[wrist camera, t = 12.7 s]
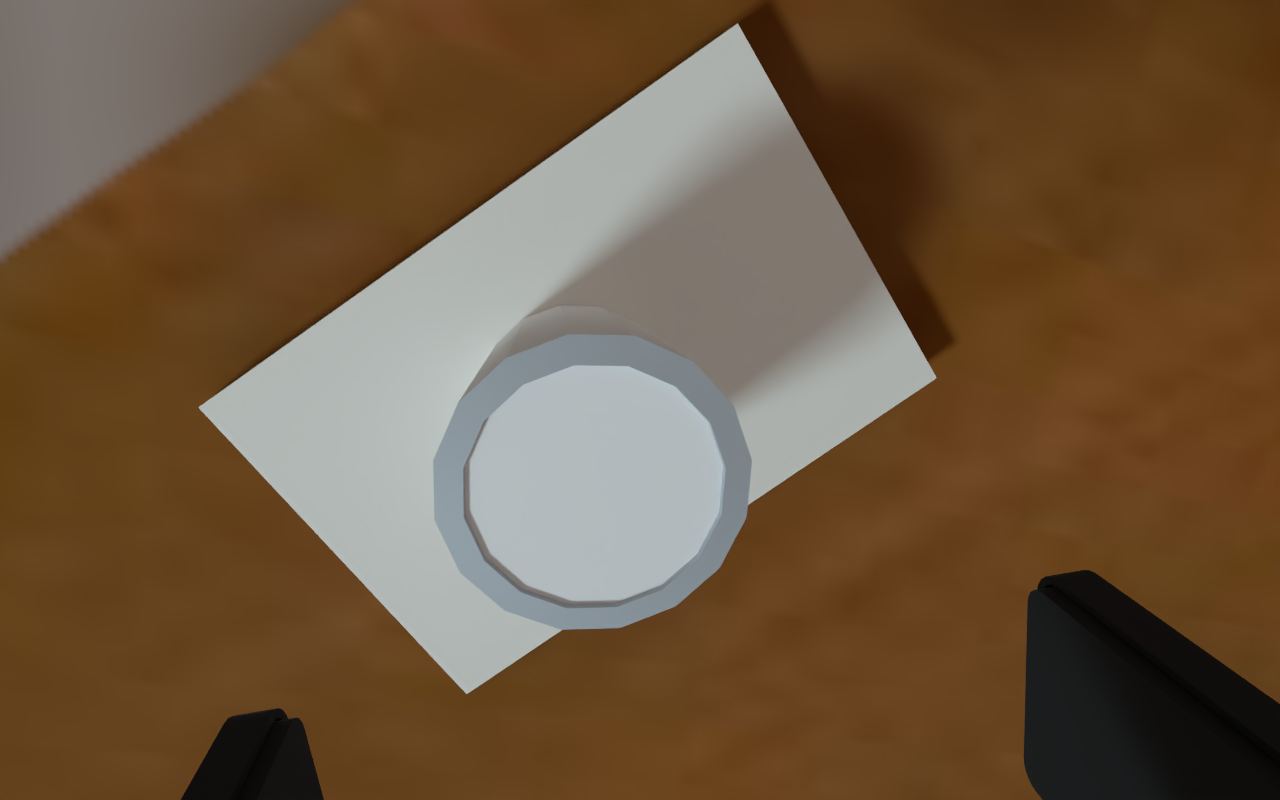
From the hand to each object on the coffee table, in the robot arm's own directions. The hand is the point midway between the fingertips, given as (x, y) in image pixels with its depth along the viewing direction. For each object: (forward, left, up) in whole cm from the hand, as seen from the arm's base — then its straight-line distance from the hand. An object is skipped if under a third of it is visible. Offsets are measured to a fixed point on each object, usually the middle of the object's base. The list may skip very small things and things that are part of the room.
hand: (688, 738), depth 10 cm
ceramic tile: (0, 0, -16) cm, 16 cm away
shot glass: (+1, 0, -15) cm, 15 cm away
